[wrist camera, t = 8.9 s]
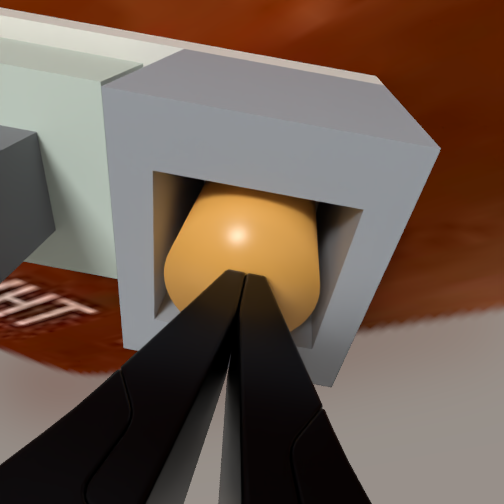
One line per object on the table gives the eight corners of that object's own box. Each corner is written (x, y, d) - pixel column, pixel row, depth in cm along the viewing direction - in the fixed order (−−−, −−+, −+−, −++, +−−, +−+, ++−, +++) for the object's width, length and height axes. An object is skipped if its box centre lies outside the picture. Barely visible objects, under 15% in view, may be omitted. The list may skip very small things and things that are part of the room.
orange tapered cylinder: (325, 142, 12) (339, 236, 7) (301, 233, 13) (300, 352, 9) (218, 122, 12) (164, 204, 7) (209, 216, 13) (163, 325, 9)
